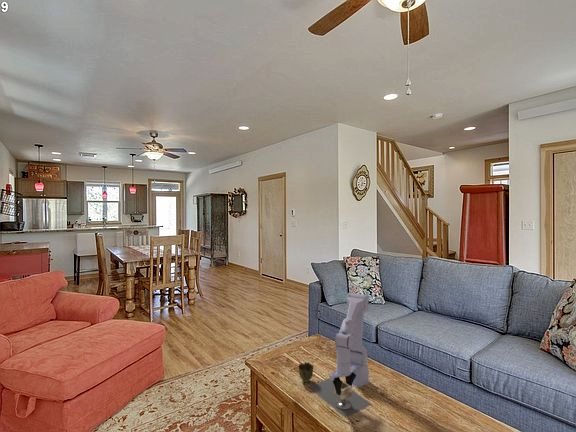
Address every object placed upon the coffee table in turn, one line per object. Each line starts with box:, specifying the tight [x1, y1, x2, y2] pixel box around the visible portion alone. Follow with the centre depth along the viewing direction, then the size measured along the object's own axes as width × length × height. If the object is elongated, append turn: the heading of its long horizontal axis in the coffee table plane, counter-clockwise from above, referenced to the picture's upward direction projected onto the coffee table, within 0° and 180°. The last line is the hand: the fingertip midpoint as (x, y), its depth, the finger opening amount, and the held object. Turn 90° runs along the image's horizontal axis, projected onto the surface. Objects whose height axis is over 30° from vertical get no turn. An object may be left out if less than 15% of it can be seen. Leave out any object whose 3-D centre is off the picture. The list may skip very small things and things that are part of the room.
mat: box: [307, 378, 373, 418], centre depth 139 cm, size 16×26×1 cm, turn 32°
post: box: [335, 399, 352, 410], centre depth 132 cm, size 7×7×6 cm
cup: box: [298, 362, 314, 384], centre depth 151 cm, size 8×7×8 cm
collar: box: [334, 380, 353, 400], centre depth 132 cm, size 5×5×4 cm
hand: (343, 391), depth 132 cm, fingers closed on collar, 5 cm apart
